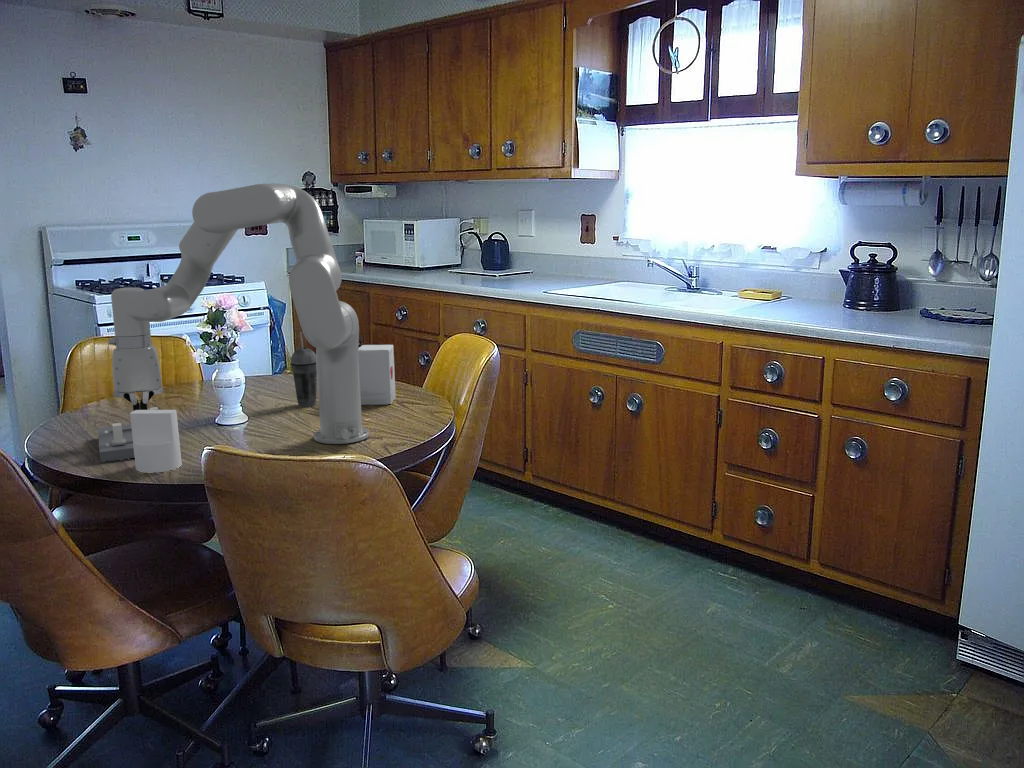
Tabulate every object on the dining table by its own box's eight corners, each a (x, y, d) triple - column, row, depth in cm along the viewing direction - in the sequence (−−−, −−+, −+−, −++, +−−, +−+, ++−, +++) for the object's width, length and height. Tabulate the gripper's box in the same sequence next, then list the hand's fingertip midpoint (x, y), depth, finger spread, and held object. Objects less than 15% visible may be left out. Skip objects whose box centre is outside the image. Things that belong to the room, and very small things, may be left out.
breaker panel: (180, 452, 197) (179, 441, 196) (100, 463, 190) (99, 451, 190) (171, 429, 216) (170, 419, 216) (99, 438, 210) (97, 427, 209)
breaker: (126, 444, 195) (124, 425, 194) (112, 445, 194) (110, 427, 193) (125, 440, 198) (123, 421, 197) (111, 441, 197) (109, 423, 196)
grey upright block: (188, 460, 191) (183, 406, 189) (171, 473, 182) (165, 416, 180) (147, 460, 191) (141, 406, 189) (128, 473, 183) (121, 417, 180)
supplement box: (391, 405, 237) (389, 349, 234) (358, 405, 238) (355, 350, 234) (396, 397, 246) (394, 343, 243) (364, 397, 246) (361, 344, 243)
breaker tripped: (162, 426, 209) (160, 409, 208) (149, 428, 208) (147, 410, 207) (161, 423, 212) (159, 406, 211) (148, 424, 211) (146, 407, 210)
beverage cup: (324, 402, 242) (319, 329, 238) (316, 408, 235) (311, 333, 231) (298, 401, 243) (293, 329, 238) (289, 408, 236) (283, 333, 231)
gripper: (98, 347, 198) (106, 427, 202) (169, 342, 204) (176, 419, 208) (97, 342, 205) (105, 419, 208) (166, 337, 211) (173, 412, 215)
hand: (141, 419), depth 208 cm, fingers closed
